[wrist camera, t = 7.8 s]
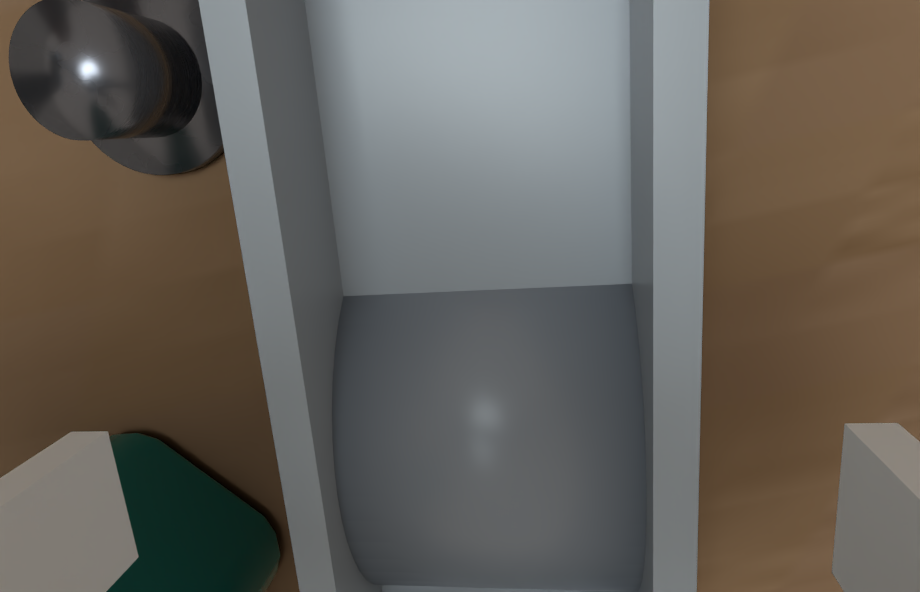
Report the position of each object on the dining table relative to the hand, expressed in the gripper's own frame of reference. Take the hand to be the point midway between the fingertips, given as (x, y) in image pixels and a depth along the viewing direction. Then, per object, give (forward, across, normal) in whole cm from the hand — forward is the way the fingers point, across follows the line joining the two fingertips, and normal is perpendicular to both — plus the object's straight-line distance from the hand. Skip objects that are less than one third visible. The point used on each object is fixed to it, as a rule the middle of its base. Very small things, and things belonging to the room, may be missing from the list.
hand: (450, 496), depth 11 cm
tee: (+11, -10, +8) cm, 17 cm away
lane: (+17, 0, +10) cm, 19 cm away
